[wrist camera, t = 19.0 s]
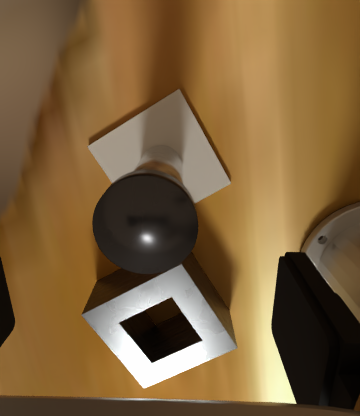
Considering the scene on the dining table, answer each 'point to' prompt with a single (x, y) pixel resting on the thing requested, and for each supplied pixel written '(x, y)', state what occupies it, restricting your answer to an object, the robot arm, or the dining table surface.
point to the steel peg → (147, 215)
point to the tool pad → (163, 135)
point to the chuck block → (166, 331)
